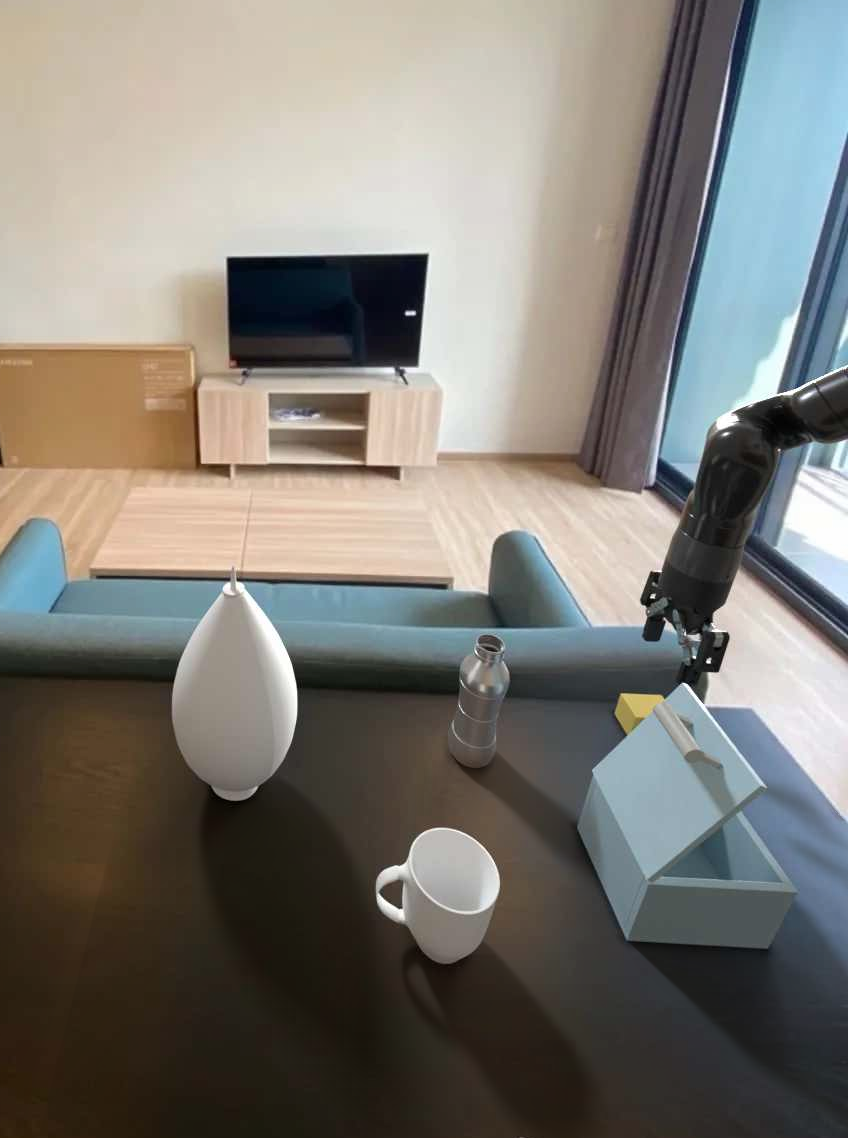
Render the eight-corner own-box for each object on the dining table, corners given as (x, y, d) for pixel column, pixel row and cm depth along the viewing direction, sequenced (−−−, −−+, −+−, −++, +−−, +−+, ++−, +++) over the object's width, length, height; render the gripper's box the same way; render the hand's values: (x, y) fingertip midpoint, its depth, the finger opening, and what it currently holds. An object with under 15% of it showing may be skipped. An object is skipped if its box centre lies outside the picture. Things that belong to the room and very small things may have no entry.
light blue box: (696, 835, 81) (719, 780, 77) (766, 951, 69) (798, 892, 65) (576, 829, 81) (593, 774, 77) (625, 943, 70) (648, 884, 66)
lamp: (287, 846, 79) (297, 617, 65) (162, 826, 81) (146, 601, 68) (298, 740, 93) (308, 534, 80) (192, 726, 96) (184, 523, 82)
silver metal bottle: (446, 769, 89) (466, 656, 81) (444, 730, 95) (463, 622, 87) (495, 779, 88) (520, 666, 80) (490, 739, 94) (513, 630, 86)
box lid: (688, 684, 71) (651, 668, 71) (768, 788, 60) (725, 769, 59) (596, 772, 77) (562, 758, 77) (653, 883, 66) (613, 866, 65)
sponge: (653, 717, 98) (661, 694, 96) (670, 742, 94) (678, 719, 92) (613, 715, 98) (620, 693, 96) (628, 740, 94) (635, 717, 92)
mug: (472, 901, 73) (488, 830, 69) (490, 992, 65) (510, 919, 61) (368, 889, 75) (377, 818, 70) (374, 978, 66) (384, 905, 62)
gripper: (769, 599, 76) (727, 702, 82) (697, 534, 89) (665, 627, 95) (704, 597, 76) (667, 700, 82) (641, 532, 89) (614, 625, 95)
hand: (666, 661), depth 89 cm, fingers open, 8 cm apart
